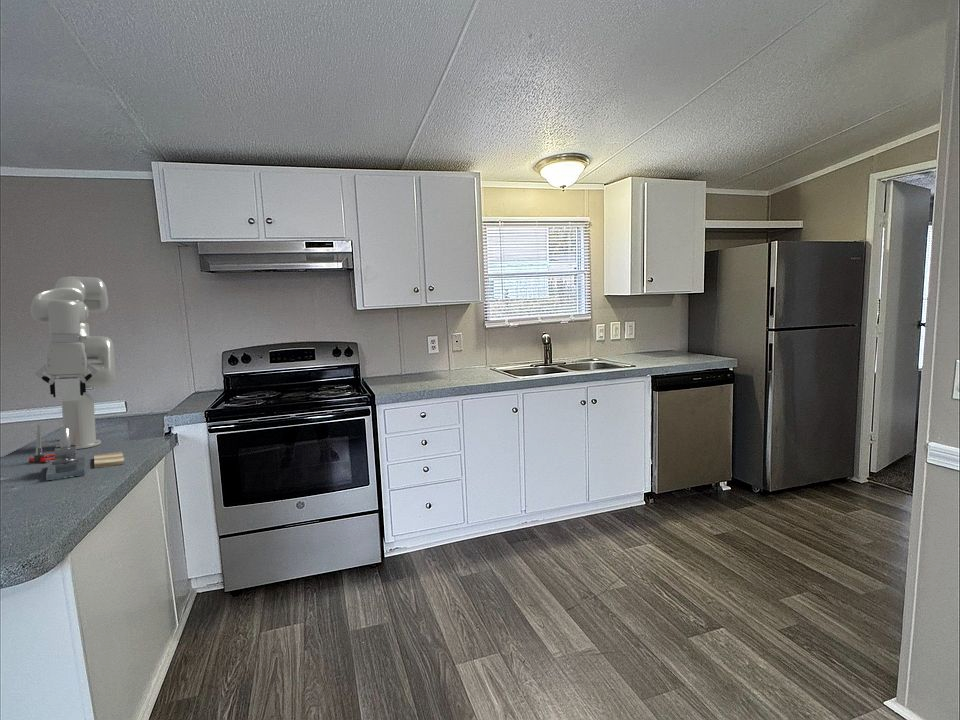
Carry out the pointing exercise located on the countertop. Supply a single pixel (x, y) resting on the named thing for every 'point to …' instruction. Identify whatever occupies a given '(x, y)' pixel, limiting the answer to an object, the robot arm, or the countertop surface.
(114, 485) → the countertop surface
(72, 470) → the grey peg stand
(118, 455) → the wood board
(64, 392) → the white hollow square block
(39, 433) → the tow hook
